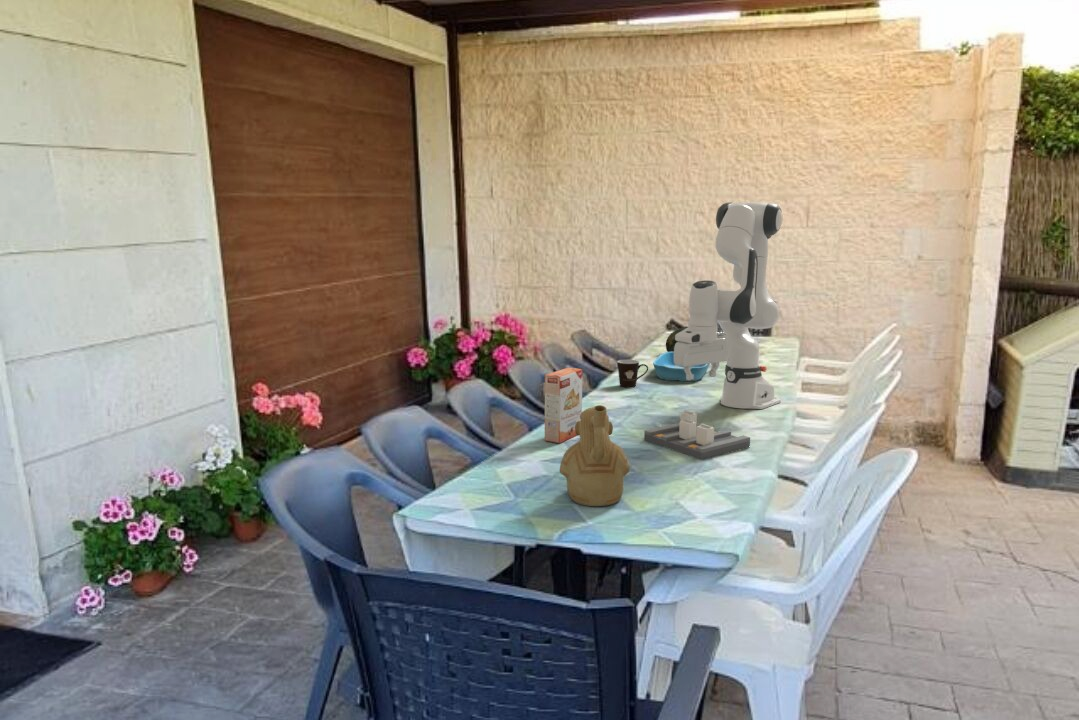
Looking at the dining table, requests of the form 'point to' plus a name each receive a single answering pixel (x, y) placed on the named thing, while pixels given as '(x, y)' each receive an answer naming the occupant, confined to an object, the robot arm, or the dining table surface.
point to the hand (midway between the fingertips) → (701, 378)
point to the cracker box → (562, 404)
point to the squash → (672, 340)
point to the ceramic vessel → (594, 461)
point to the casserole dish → (676, 368)
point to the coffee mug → (629, 372)
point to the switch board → (671, 440)
